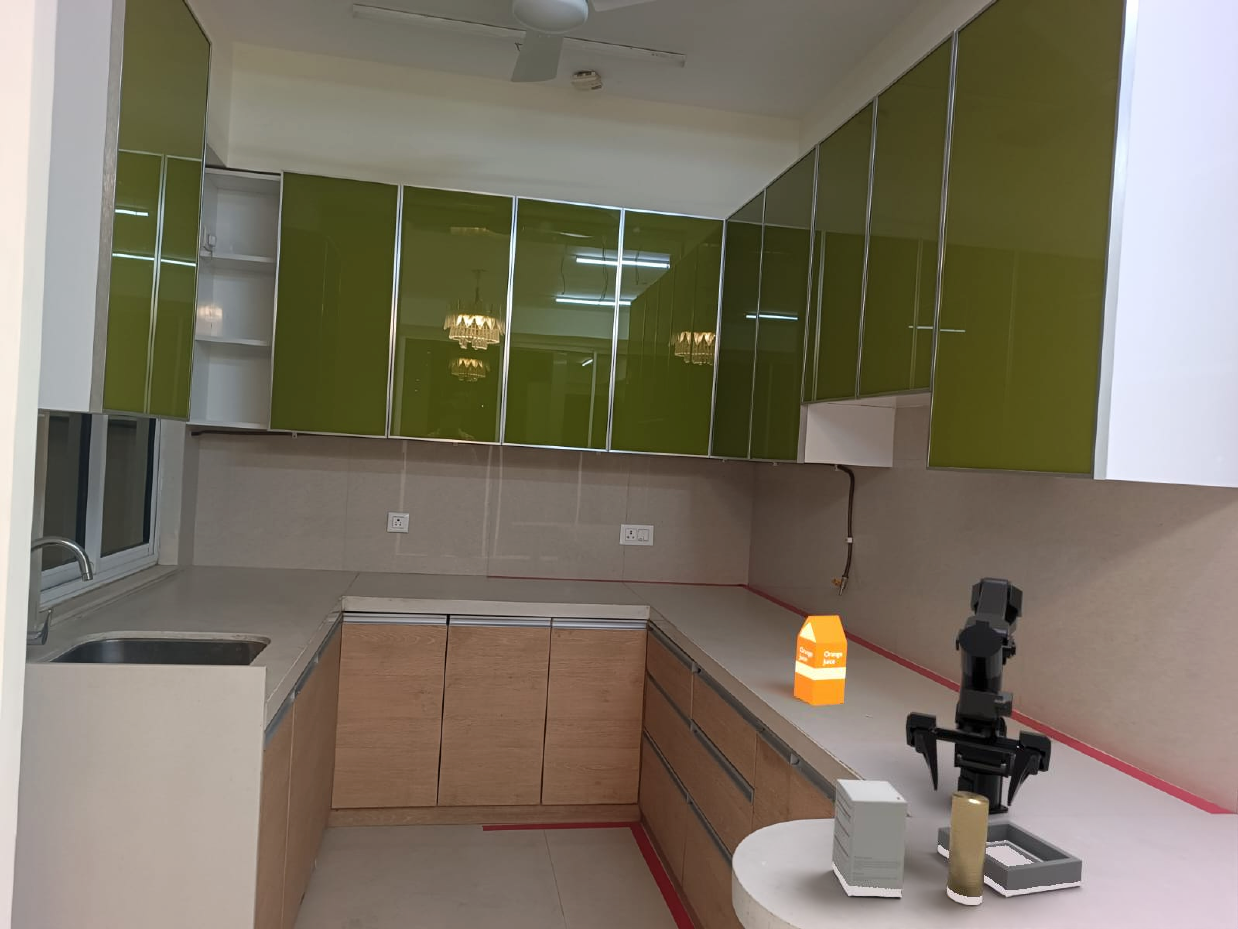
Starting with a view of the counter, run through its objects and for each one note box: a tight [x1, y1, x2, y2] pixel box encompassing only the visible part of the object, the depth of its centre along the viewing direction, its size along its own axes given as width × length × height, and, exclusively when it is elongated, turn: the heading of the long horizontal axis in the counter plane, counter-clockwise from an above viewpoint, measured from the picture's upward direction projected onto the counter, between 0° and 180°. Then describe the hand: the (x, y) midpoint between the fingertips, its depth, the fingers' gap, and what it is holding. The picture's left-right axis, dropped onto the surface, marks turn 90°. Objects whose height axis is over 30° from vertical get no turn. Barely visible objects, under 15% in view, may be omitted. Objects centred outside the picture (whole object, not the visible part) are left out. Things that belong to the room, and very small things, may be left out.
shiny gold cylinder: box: [946, 791, 989, 897], centre depth 110 cm, size 4×4×13 cm
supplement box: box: [831, 778, 908, 890], centre depth 112 cm, size 7×7×13 cm
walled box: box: [937, 819, 1083, 890], centre depth 119 cm, size 13×13×4 cm
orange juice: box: [793, 615, 848, 706], centre depth 201 cm, size 8×9×20 cm
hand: (971, 797), depth 115 cm, fingers open, 9 cm apart
